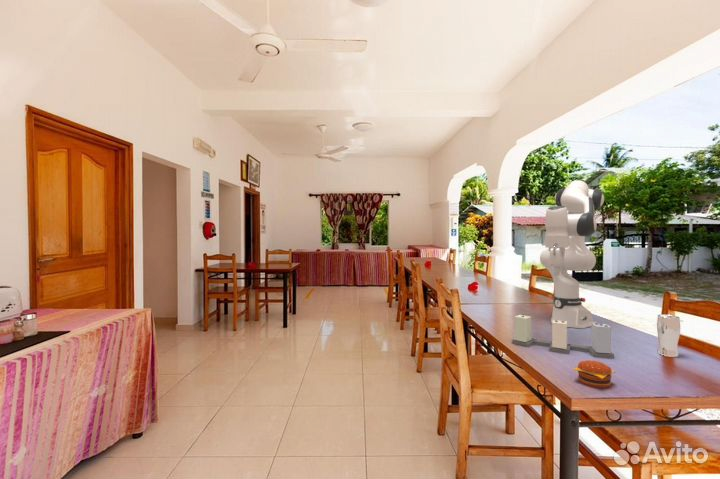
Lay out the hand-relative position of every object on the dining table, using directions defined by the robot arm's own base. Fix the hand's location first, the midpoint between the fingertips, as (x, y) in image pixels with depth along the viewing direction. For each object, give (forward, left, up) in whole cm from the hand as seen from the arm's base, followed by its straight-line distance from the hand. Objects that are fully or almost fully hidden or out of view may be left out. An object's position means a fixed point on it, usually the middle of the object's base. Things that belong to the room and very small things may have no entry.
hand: (557, 275), depth 156 cm
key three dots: (-3, +17, -27) cm, 33 cm away
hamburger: (+22, +35, -30) cm, 51 cm away
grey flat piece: (+4, +6, -29) cm, 30 cm away
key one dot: (+14, -4, -27) cm, 31 cm away
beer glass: (-28, +26, -29) cm, 48 cm away
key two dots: (+7, +8, -27) cm, 29 cm away
